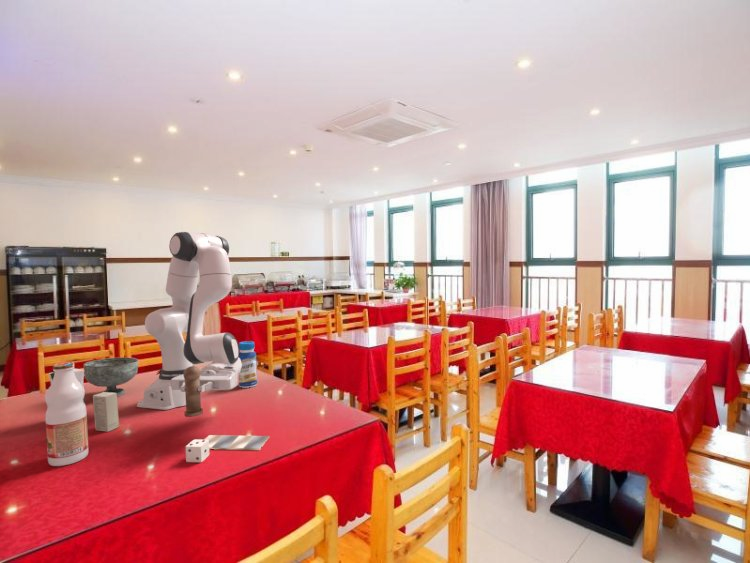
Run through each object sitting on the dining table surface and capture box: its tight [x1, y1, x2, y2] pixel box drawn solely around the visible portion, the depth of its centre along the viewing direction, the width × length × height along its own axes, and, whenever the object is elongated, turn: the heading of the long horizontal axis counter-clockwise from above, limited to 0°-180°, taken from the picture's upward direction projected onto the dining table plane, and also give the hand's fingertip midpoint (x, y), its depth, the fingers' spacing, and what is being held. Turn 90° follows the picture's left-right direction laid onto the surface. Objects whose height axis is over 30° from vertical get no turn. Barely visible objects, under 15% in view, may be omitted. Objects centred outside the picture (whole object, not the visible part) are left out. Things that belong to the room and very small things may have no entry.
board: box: [203, 434, 270, 451], centre depth 124 cm, size 20×9×1 cm, turn 85°
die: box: [185, 438, 210, 463], centre depth 115 cm, size 5×5×5 cm
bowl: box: [83, 356, 140, 397], centre depth 174 cm, size 20×19×15 cm
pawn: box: [184, 365, 204, 418], centre depth 125 cm, size 5×5×15 cm
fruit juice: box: [44, 361, 90, 467], centre depth 116 cm, size 9×9×28 cm
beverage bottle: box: [238, 340, 258, 389], centre depth 183 cm, size 8×8×20 cm
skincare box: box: [92, 391, 120, 432], centre depth 137 cm, size 6×4×12 cm
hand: (191, 389), depth 124 cm, fingers closed on pawn, 4 cm apart
